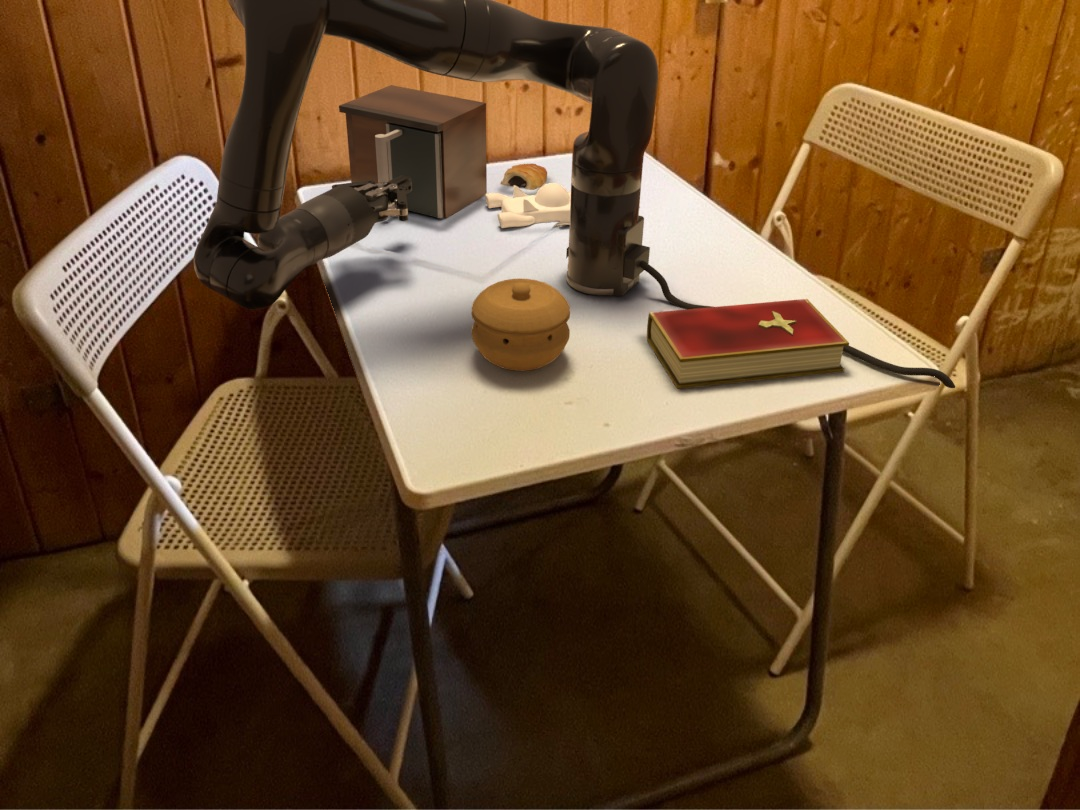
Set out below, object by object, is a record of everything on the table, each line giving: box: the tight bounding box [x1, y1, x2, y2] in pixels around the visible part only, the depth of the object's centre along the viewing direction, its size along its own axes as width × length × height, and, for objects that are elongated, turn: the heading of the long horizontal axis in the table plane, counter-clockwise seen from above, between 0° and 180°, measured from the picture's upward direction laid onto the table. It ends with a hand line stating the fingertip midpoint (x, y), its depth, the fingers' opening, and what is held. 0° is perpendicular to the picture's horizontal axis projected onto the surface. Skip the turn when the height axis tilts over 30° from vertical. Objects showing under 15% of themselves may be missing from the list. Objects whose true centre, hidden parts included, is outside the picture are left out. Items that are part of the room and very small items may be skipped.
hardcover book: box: [646, 298, 850, 390], centre depth 123 cm, size 12×21×4 cm, turn 102°
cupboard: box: [338, 84, 488, 220], centre depth 159 cm, size 13×18×16 cm
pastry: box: [500, 163, 548, 191], centre depth 170 cm, size 9×7×4 cm
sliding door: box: [375, 123, 444, 219], centre depth 151 cm, size 6×9×13 cm, turn 61°
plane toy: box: [484, 182, 571, 229], centre depth 157 cm, size 10×20×6 cm, turn 106°
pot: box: [470, 278, 571, 372], centre depth 120 cm, size 12×12×10 cm
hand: (407, 182), depth 143 cm, fingers closed
